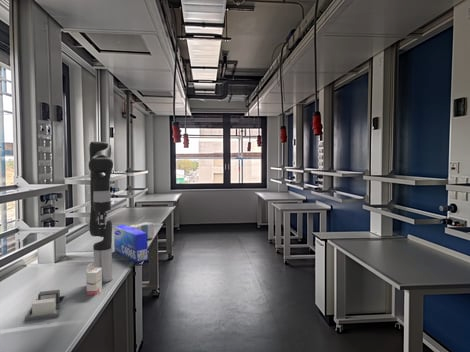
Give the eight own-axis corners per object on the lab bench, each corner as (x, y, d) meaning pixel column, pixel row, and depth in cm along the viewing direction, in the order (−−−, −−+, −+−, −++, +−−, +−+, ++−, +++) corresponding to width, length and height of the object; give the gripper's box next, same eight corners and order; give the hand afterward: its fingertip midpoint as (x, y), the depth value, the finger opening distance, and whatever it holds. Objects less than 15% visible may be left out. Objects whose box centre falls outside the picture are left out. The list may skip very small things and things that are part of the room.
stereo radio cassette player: (135, 243, 278) (134, 218, 277) (127, 242, 282) (127, 217, 281) (154, 238, 296) (153, 214, 295) (147, 237, 300) (146, 214, 299)
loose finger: (34, 313, 148) (34, 300, 148) (56, 310, 150) (55, 297, 150) (32, 317, 144) (31, 304, 144) (54, 314, 146) (53, 301, 146)
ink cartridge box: (97, 296, 169) (96, 266, 168) (86, 297, 168) (85, 266, 168) (102, 290, 177) (101, 261, 177) (92, 290, 177) (91, 261, 176)
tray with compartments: (36, 304, 160) (36, 299, 160) (66, 301, 164) (66, 295, 163) (24, 324, 141) (24, 317, 141) (58, 319, 145) (58, 313, 144)
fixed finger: (40, 303, 158) (40, 291, 158) (60, 301, 160) (59, 289, 160) (38, 307, 154) (37, 295, 154) (58, 305, 156) (58, 293, 156)
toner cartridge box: (114, 251, 255) (113, 226, 254) (125, 249, 260) (124, 224, 260) (136, 263, 225) (135, 234, 224) (148, 260, 230) (147, 232, 229)
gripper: (94, 199, 170) (95, 232, 171) (92, 202, 157) (93, 238, 158) (111, 198, 173) (112, 231, 173) (110, 201, 159) (111, 237, 160)
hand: (103, 235), depth 165 cm, fingers open, 8 cm apart
